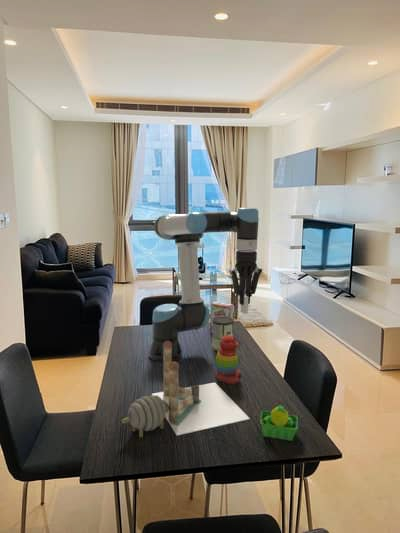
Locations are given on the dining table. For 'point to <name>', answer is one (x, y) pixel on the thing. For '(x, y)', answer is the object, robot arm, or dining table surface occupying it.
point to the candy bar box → (220, 311)
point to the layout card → (206, 411)
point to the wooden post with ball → (166, 361)
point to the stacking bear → (227, 361)
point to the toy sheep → (147, 413)
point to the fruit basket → (279, 424)
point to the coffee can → (221, 330)
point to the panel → (176, 394)
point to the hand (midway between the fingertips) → (244, 312)
